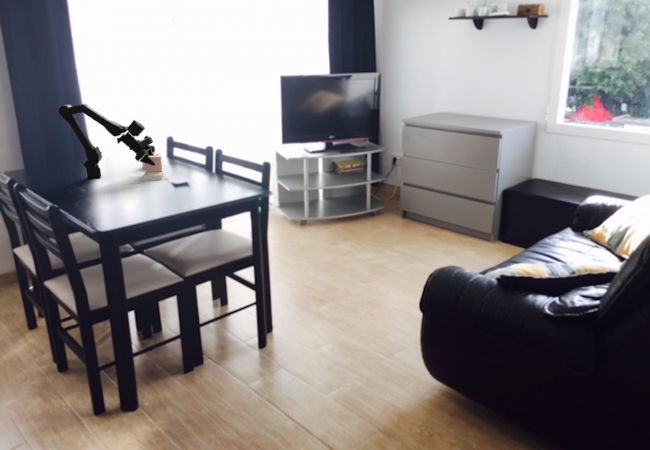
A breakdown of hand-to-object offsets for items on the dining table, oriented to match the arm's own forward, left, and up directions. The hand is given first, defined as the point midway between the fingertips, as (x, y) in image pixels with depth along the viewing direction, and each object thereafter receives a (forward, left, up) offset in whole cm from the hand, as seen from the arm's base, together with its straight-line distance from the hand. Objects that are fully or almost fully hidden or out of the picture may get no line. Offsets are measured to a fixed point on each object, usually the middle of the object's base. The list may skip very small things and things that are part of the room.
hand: (156, 163), depth 296 cm
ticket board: (-3, -6, -7) cm, 9 cm away
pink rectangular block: (-1, 0, -6) cm, 6 cm away
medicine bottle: (+2, +23, -7) cm, 24 cm away
